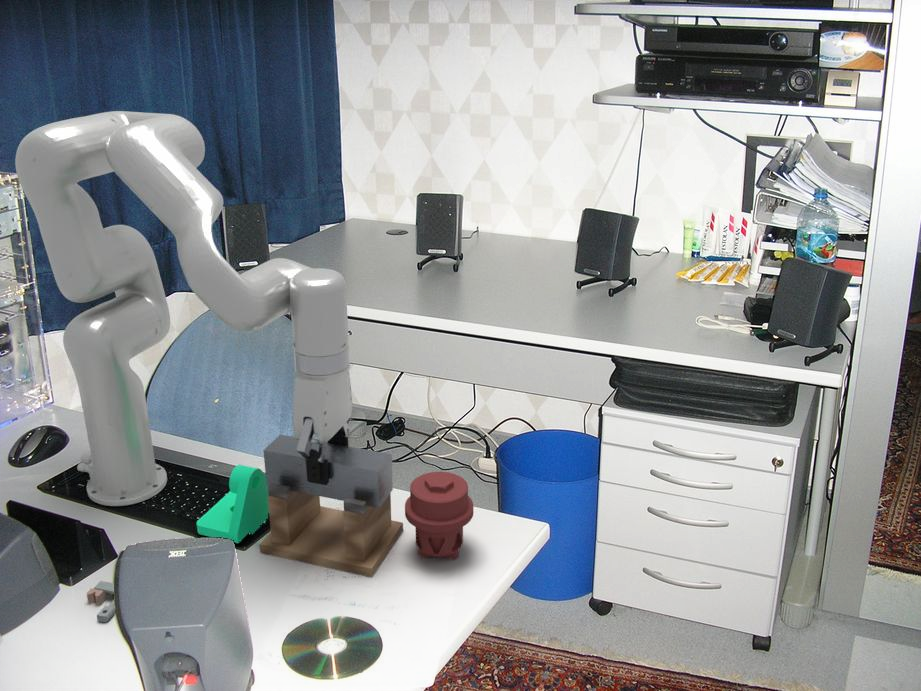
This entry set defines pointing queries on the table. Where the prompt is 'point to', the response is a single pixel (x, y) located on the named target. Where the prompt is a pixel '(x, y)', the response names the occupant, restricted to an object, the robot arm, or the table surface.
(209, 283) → the robot arm
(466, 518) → the mechanical component
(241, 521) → the camera mount
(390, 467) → the matte grey brick
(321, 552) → the rack
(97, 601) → the clamp
